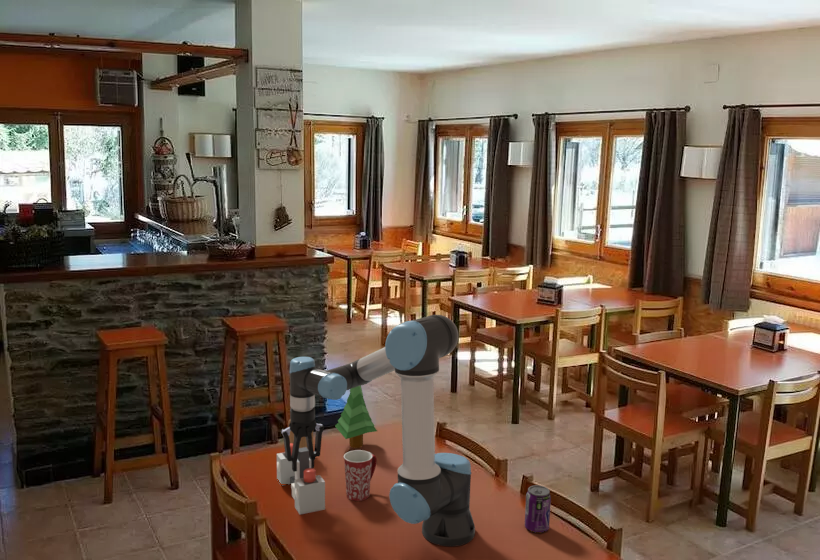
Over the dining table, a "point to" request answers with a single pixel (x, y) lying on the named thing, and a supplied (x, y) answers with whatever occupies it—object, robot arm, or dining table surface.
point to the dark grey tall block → (301, 465)
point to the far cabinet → (284, 469)
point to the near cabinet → (309, 495)
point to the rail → (292, 479)
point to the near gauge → (309, 475)
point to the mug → (359, 474)
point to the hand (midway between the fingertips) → (303, 479)
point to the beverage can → (537, 508)
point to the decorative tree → (355, 419)
